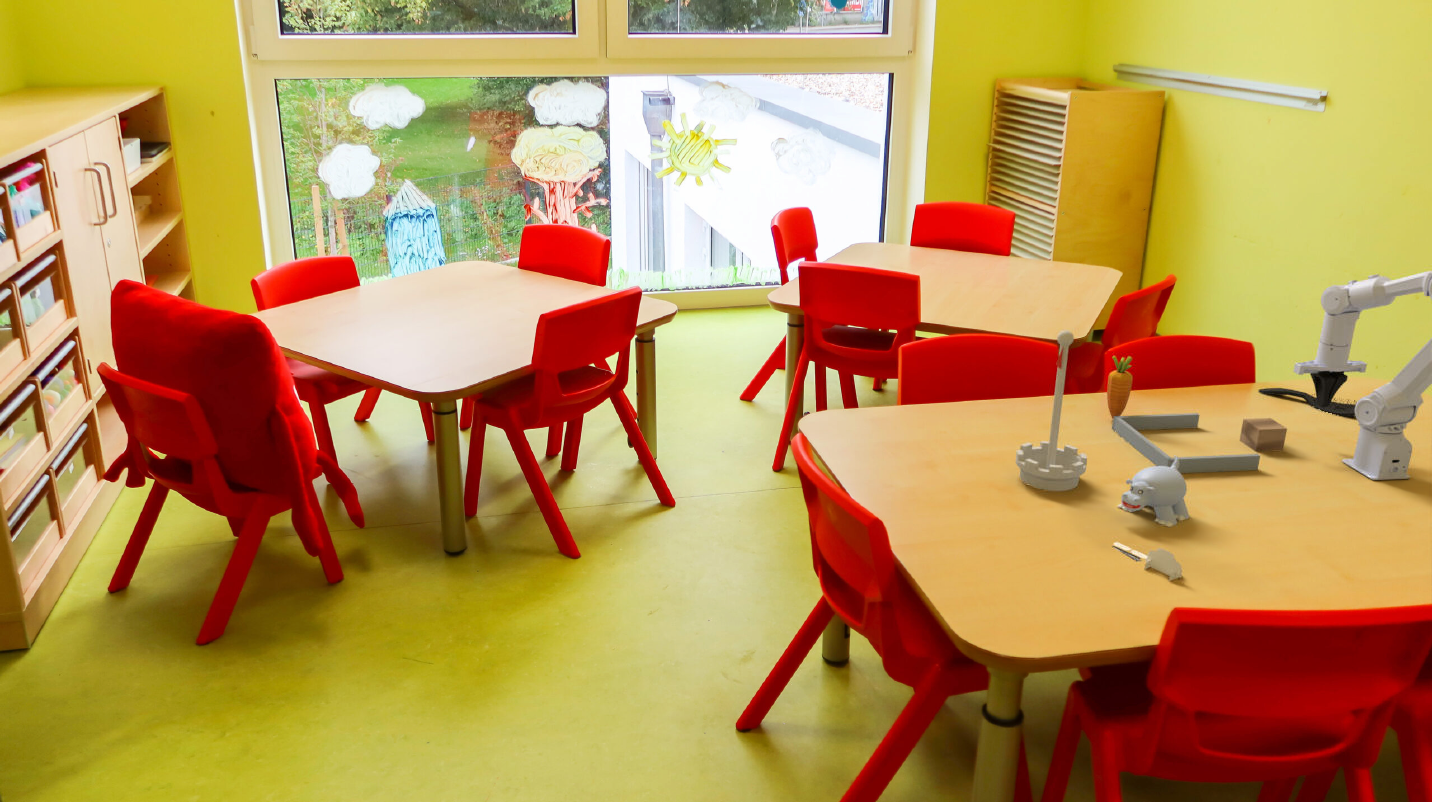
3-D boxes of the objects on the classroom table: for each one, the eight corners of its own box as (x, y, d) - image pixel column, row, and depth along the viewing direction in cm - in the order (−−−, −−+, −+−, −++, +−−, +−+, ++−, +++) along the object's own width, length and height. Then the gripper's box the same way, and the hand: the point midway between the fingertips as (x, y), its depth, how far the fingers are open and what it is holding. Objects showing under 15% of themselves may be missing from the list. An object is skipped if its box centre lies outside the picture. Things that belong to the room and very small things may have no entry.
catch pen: (1257, 469, 218) (1260, 455, 217) (1166, 473, 216) (1168, 459, 215) (1195, 425, 240) (1197, 413, 239) (1111, 429, 238) (1113, 416, 237)
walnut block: (1282, 450, 228) (1287, 428, 226) (1255, 452, 227) (1259, 429, 225) (1266, 440, 233) (1270, 418, 232) (1239, 441, 233) (1243, 419, 231)
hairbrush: (1267, 377, 264) (1383, 398, 247) (1265, 392, 265) (1380, 414, 248) (1253, 385, 259) (1370, 407, 241) (1251, 400, 260) (1368, 423, 243)
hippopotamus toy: (1098, 515, 199) (1105, 466, 196) (1145, 494, 208) (1152, 447, 204) (1152, 537, 191) (1160, 486, 188) (1199, 513, 200) (1207, 465, 196)
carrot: (1098, 418, 245) (1106, 354, 239) (1115, 415, 247) (1123, 351, 241) (1114, 425, 240) (1123, 360, 235) (1131, 422, 242) (1140, 357, 237)
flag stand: (1025, 461, 222) (1040, 317, 212) (1091, 474, 216) (1110, 327, 205) (1005, 483, 211) (1020, 333, 201) (1074, 498, 205) (1093, 344, 195)
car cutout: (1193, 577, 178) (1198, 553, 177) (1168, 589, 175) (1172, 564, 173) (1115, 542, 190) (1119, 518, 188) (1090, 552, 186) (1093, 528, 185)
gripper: (1355, 336, 228) (1342, 397, 233) (1290, 338, 227) (1278, 400, 231) (1378, 346, 222) (1364, 409, 226) (1311, 348, 220) (1298, 411, 225)
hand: (1322, 405), depth 229 cm, fingers closed
